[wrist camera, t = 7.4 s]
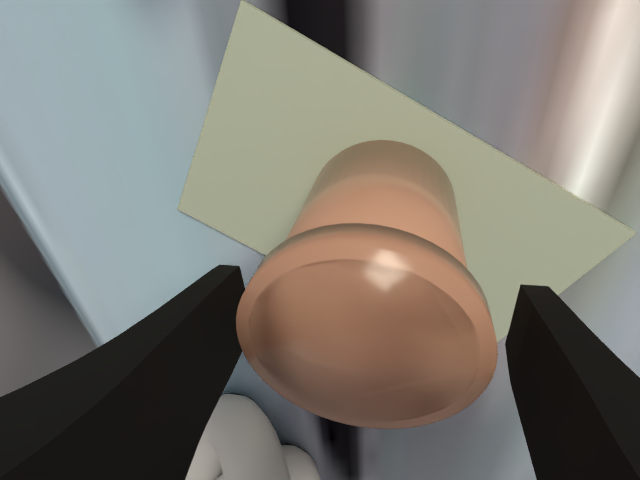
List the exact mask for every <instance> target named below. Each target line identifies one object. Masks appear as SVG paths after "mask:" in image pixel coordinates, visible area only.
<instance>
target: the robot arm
mask: <svg viewBox="0 0 640 480" xmlns="http://www.w3.org/2000/svg"><path fill="white" fill-rule="evenodd" d="M244 291H245V287H244V283H243V279H242V275H241V270H240V266H230V265H218V266H217V267H215V268H214V269H212V270H211V271H209V272H208V273H207V274H205V275H204V276H202V277H201V278H200V279H198V280H197V281H196V282H194V283H193V284H191V285H190V286H189V287H187V288H186V289H185V290H183V291H182V292H181V293H179V294H178V295H176V296H175V297H174V298H172V299H171V300H170V301H168V302H167V303H165V304H164V305H163V306H161V307H160V308H159V309H157V310H156V311H154V312H153V313H151V314H150V315H148V316H147V317H145V318H144V319H142V320H141V321H139V322H138V323H136V324H135V325H133V326H132V327H130V328H129V329H127V330H126V331H124V332H123V333H121V334H120V335H118V336H117V337H115V338H113V339H112V340H110V341H109V342H107V343H105V344H104V345H102V346H100V347H98V348H97V349H95V350H93V351H92V352H90V353H88V354H86V355H84V356H83V357H81V358H79V359H77V360H76V361H74V362H72V363H70V364H68V365H66V366H64V367H62V368H60V369H58V370H56V371H54V372H52V373H50V374H48V375H46V376H44V377H42V378H40V379H38V380H36V381H34V382H32V383H30V384H28V385H26V386H24V387H22V388H20V389H18V390H15V391H13V392H11V393H9V394H6V395H4V396H2V397H0V480H185V479H186V476H187V473H188V471H189V468H190V465H191V463H192V460H193V457H194V455H195V452H196V449H197V446H198V444H199V441H200V439H201V437H202V434H203V432H204V430H205V428H206V425H207V423H208V421H209V419H210V417H211V415H212V413H213V411H214V409H215V407H216V405H217V403H218V401H219V399H220V396H221V394H222V392H223V390H224V388H225V386H226V384H227V382H228V380H229V378H230V376H231V374H232V372H233V370H234V368H235V365H236V363H237V361H238V359H239V357H240V355H241V353H242V349H241V346H240V343H239V340H238V335H237V330H236V315H237V309H238V305H239V302H240V300H241V297H242V295H243V293H244ZM505 346H506V353H507V361H508V369H509V375H510V382H511V386H512V390H513V394H514V398H515V402H516V405H517V409H518V413H519V416H520V420H521V424H522V427H523V431H524V435H525V438H526V442H527V446H528V449H529V453H530V456H531V460H532V464H533V467H534V471H535V475H536V478H537V480H640V378H639V377H638V376H637V375H636V374H635V373H634V372H633V371H632V370H631V369H630V368H628V367H627V366H626V365H625V364H624V363H623V362H622V361H621V360H620V359H619V358H618V357H617V356H616V355H615V354H614V353H613V352H612V351H611V350H610V349H609V348H608V347H607V346H606V345H605V344H604V343H603V342H602V341H601V340H600V339H599V338H598V337H597V336H596V335H595V334H594V333H593V332H592V331H591V330H590V329H589V328H588V327H587V326H586V325H585V324H584V323H583V322H582V321H581V320H580V319H579V318H578V317H577V315H576V314H575V313H574V312H573V311H572V310H571V309H570V308H569V307H568V306H567V305H566V304H565V303H564V302H563V301H562V300H561V298H560V297H559V296H558V295H557V294H556V293H555V292H554V291H553V290H552V289H551V288H550V287H549V286H538V285H522V284H520V288H519V292H518V296H517V300H516V304H515V308H514V312H513V316H512V320H511V324H510V328H509V331H508V335H507V339H506V343H505Z"/></svg>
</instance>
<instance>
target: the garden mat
mask: <svg viewBox="0 0 640 480" xmlns="http://www.w3.org/2000/svg"><path fill="white" fill-rule="evenodd" d="M373 140H391V141H397V142H402V143H405V144H408V145H412V146H414V147H416V148H418V149H420V150H422V151H423V152H425V153H427V154H428V155H430V156H431V157H432V158H433V159H434V160H435V161H437V163H438V164H439V165H440V166H441V167H442V168H443V170H444V171H445V173H446V174H447V176H448V177H449V180H450V182H451V184H452V187H453V191H454V194H455V200H456V206H457V212H458V217H459V223H460V229H461V235H462V240H463V246H464V252H465V258H466V263H467V269H468V270H469V272H470V273H471V274H472V275H473V276H474V278H475V279H476V281H477V282H478V283H479V285H480V286H481V288H482V290H483V292H484V295H485V297H486V299H487V302H488V305H489V309H490V313H491V317H492V322H493V326H494V331H495V335H496V340H497V342H498V341H500V340H501V339H502V338H504V337H505V336H506V335H507V334H508V331H509V328H510V324H511V320H512V316H513V312H514V308H515V304H516V300H517V296H518V292H519V288H520V284H522V285H538V286H549V287H550V288H551V289H552V290H553V291H554V292H555V293H556V294H557V295H558V294H560V293H561V292H562V291H564V290H565V289H566V288H567V287H569V286H570V285H571V284H572V283H574V282H575V281H576V280H578V279H579V278H580V277H581V276H583V275H584V274H585V273H586V272H588V271H589V270H590V269H592V268H593V267H594V266H595V265H597V264H598V263H599V262H601V261H602V260H603V259H604V258H606V257H607V256H608V255H609V254H611V253H612V252H613V251H615V250H616V249H617V248H618V247H620V246H621V245H622V244H623V243H625V242H626V241H627V240H629V239H630V238H631V237H632V236H634V235H635V234H636V232H635V231H634V230H632V229H631V228H629V227H627V226H626V225H624V224H622V223H621V222H619V221H617V220H616V219H614V218H612V217H610V216H609V215H607V214H605V213H604V212H602V211H600V210H599V209H597V208H595V207H594V206H592V205H590V204H588V203H587V202H585V201H583V200H582V199H580V198H578V197H577V196H575V195H573V194H572V193H570V192H568V191H566V190H565V189H563V188H561V187H560V186H558V185H556V184H555V183H553V182H551V181H549V180H548V179H546V178H544V177H543V176H541V175H539V174H538V173H536V172H534V171H533V170H531V169H529V168H527V167H526V166H524V165H522V164H521V163H519V162H517V161H516V160H514V159H512V158H511V157H509V156H507V155H505V154H504V153H502V152H500V151H499V150H497V149H495V148H494V147H492V146H490V145H489V144H487V143H485V142H483V141H482V140H480V139H478V138H477V137H475V136H473V135H472V134H470V133H468V132H466V131H465V130H463V129H461V128H460V127H458V126H456V125H455V124H453V123H451V122H450V121H448V120H446V119H444V118H443V117H441V116H439V115H438V114H436V113H434V112H433V111H431V110H429V109H428V108H426V107H424V106H422V105H421V104H419V103H417V102H416V101H414V100H412V99H411V98H409V97H407V96H406V95H404V94H402V93H400V92H399V91H397V90H395V89H394V88H392V87H390V86H389V85H387V84H385V83H383V82H382V81H380V80H378V79H377V78H375V77H373V76H372V75H370V74H368V73H367V72H365V71H363V70H361V69H360V68H358V67H356V66H355V65H353V64H351V63H350V62H348V61H346V60H345V59H343V58H341V57H339V56H338V55H336V54H334V53H333V52H331V51H329V50H328V49H326V48H324V47H323V46H321V45H319V44H317V43H316V42H314V41H312V40H311V39H309V38H307V37H306V36H304V35H302V34H300V33H299V32H297V31H295V30H294V29H292V28H290V27H289V26H287V25H285V24H284V23H282V22H280V21H278V20H277V19H275V18H273V17H272V16H270V15H268V14H267V13H265V12H263V11H262V10H260V9H258V8H256V7H255V6H253V5H251V4H250V3H248V2H246V1H245V0H241V3H240V6H239V9H238V13H237V16H236V19H235V22H234V26H233V29H232V32H231V35H230V39H229V42H228V45H227V49H226V52H225V55H224V58H223V62H222V65H221V68H220V71H219V75H218V78H217V81H216V85H215V88H214V91H213V94H212V98H211V101H210V104H209V107H208V111H207V114H206V117H205V120H204V124H203V127H202V130H201V134H200V137H199V140H198V143H197V147H196V150H195V153H194V156H193V160H192V163H191V166H190V169H189V173H188V176H187V179H186V183H185V186H184V189H183V192H182V196H181V199H180V202H179V205H178V210H180V211H182V212H183V213H185V214H187V215H189V216H191V217H193V218H195V219H197V220H199V221H201V222H203V223H204V224H206V225H208V226H210V227H212V228H214V229H216V230H218V231H220V232H222V233H224V234H226V235H227V236H229V237H231V238H233V239H235V240H237V241H239V242H241V243H243V244H245V245H247V246H248V247H250V248H252V249H254V250H256V251H258V252H260V253H262V254H264V255H266V256H267V255H268V254H269V252H271V251H272V250H273V249H274V248H275V247H277V246H278V245H279V244H280V243H282V242H284V241H285V240H286V238H287V236H288V234H289V232H290V230H291V228H292V226H293V224H294V222H295V220H296V218H297V216H298V214H299V212H300V210H301V208H302V206H303V204H304V202H305V200H306V198H307V196H308V194H309V192H310V190H311V188H312V186H313V184H314V182H315V180H316V178H317V176H318V175H319V173H320V171H321V170H322V168H323V167H324V166H325V165H326V163H327V162H328V161H329V160H330V159H332V158H333V157H334V156H335V155H336V154H338V153H339V152H341V151H342V150H344V149H346V148H348V147H350V146H353V145H355V144H358V143H362V142H367V141H373Z"/></svg>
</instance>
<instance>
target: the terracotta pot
mask: <svg viewBox="0 0 640 480" xmlns="http://www.w3.org/2000/svg"><path fill="white" fill-rule="evenodd" d="M236 330H237V335H238V340H239V343H240V346H241V349H242V351H243V353H244V355H245V357H246V359H247V361H248V362H249V364H250V365H251V366H252V368H253V369H254V371H255V372H256V373H257V374H258V375H259V376H260V377H261V379H262V380H263V381H264V382H265V383H266V384H268V385H269V386H270V387H271V388H272V389H273V390H274V391H276V392H277V393H278V394H280V395H281V396H282V397H284V398H285V399H287V400H289V401H290V402H292V403H293V404H295V405H297V406H299V407H301V408H303V409H305V410H307V411H309V412H311V413H314V414H316V415H318V416H321V417H324V418H327V419H330V420H333V421H336V422H340V423H344V424H348V425H354V426H359V427H367V428H377V429H398V428H409V427H417V426H422V425H426V424H431V423H434V422H437V421H440V420H443V419H446V418H448V417H450V416H452V415H454V414H456V413H458V412H460V411H461V410H463V409H465V408H466V407H468V406H469V405H470V404H471V403H473V402H474V401H475V400H476V399H477V398H478V397H479V396H480V395H481V394H482V393H483V391H484V390H485V389H486V388H487V386H488V384H489V382H490V381H491V379H492V377H493V374H494V371H495V368H496V363H497V356H498V351H497V340H496V335H495V331H494V326H493V322H492V317H491V313H490V309H489V305H488V302H487V299H486V297H485V295H484V292H483V290H482V288H481V286H480V285H479V283H478V282H477V281H476V279H475V278H474V276H473V275H472V274H471V273H470V272H469V270H468V269H467V263H466V258H465V252H464V246H463V240H462V235H461V229H460V223H459V217H458V212H457V206H456V200H455V194H454V191H453V187H452V184H451V182H450V180H449V177H448V176H447V174H446V173H445V171H444V170H443V168H442V167H441V166H440V165H439V164H438V163H437V161H435V160H434V159H433V158H432V157H431V156H430V155H428V154H427V153H425V152H423V151H422V150H420V149H418V148H416V147H414V146H412V145H408V144H405V143H402V142H397V141H391V140H373V141H367V142H362V143H358V144H355V145H353V146H350V147H348V148H346V149H344V150H342V151H341V152H339V153H338V154H336V155H335V156H334V157H333V158H332V159H330V160H329V161H328V162H327V163H326V165H325V166H324V167H323V168H322V170H321V171H320V173H319V175H318V176H317V178H316V180H315V182H314V184H313V186H312V188H311V190H310V192H309V194H308V196H307V198H306V200H305V202H304V204H303V206H302V208H301V210H300V212H299V214H298V216H297V218H296V220H295V222H294V224H293V226H292V228H291V230H290V232H289V234H288V236H287V238H286V240H285V241H284V242H282V243H280V244H279V245H278V246H277V247H275V248H274V249H273V250H272V251H271V252H269V254H268V255H267V256H266V257H265V258H264V259H263V260H262V262H261V263H260V265H259V266H258V268H257V270H256V271H255V273H254V275H253V277H252V278H251V280H250V282H249V284H248V286H247V287H246V289H245V291H244V293H243V295H242V297H241V300H240V302H239V305H238V309H237V315H236Z"/></svg>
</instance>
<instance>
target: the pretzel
mask: <svg viewBox="0 0 640 480" xmlns="http://www.w3.org/2000/svg"><path fill="white" fill-rule="evenodd" d="M185 480H320V476H319V474H318V471H317V469H316V466H315V463H314V461H313V459H312V458H311V457H310V456H309V455H308V454H307V453H306V452H304V451H303V450H302V449H300V448H298V447H297V446H292V445H281V444H280V441H279V439H278V436H277V433H276V431H275V429H274V428H273V426H272V424H271V422H270V420H269V418H268V417H267V416H266V415H265V414H264V412H263V411H262V410H261V409H260V408H259V406H258V405H257V404H256V403H255V402H254V401H253V400H251V399H249V398H248V397H246V396H241V395H235V394H224V395H221V396H220V399H219V401H218V403H217V405H216V407H215V409H214V411H213V413H212V415H211V417H210V419H209V421H208V423H207V425H206V428H205V430H204V432H203V434H202V437H201V439H200V441H199V444H198V446H197V449H196V452H195V455H194V457H193V460H192V463H191V465H190V468H189V471H188V473H187V476H186V479H185Z"/></svg>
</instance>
